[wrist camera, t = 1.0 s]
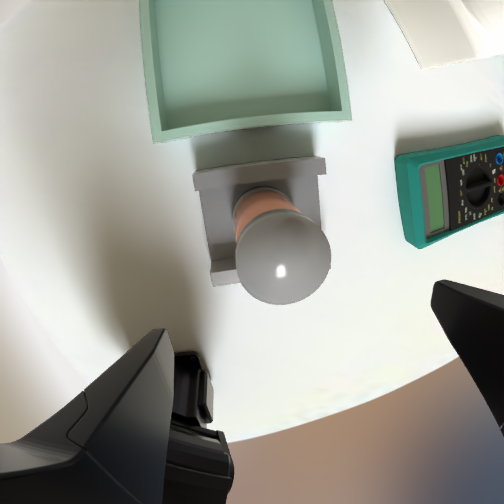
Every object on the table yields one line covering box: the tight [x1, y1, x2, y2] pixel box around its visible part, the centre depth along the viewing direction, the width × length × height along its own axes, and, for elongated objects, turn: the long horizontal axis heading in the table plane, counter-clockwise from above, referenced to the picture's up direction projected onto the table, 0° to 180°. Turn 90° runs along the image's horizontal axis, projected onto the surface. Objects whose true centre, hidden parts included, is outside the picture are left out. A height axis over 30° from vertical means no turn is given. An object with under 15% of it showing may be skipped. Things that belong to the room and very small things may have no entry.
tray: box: [139, 0, 352, 143], centre depth 15 cm, size 12×12×2 cm
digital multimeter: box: [395, 135, 504, 249], centre depth 20 cm, size 7×15×3 cm, turn 107°
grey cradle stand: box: [193, 156, 331, 287], centre depth 20 cm, size 8×7×2 cm
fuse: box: [232, 186, 331, 305], centre depth 17 cm, size 4×4×8 cm
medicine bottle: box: [384, 0, 504, 70], centre depth 10 cm, size 7×7×12 cm
